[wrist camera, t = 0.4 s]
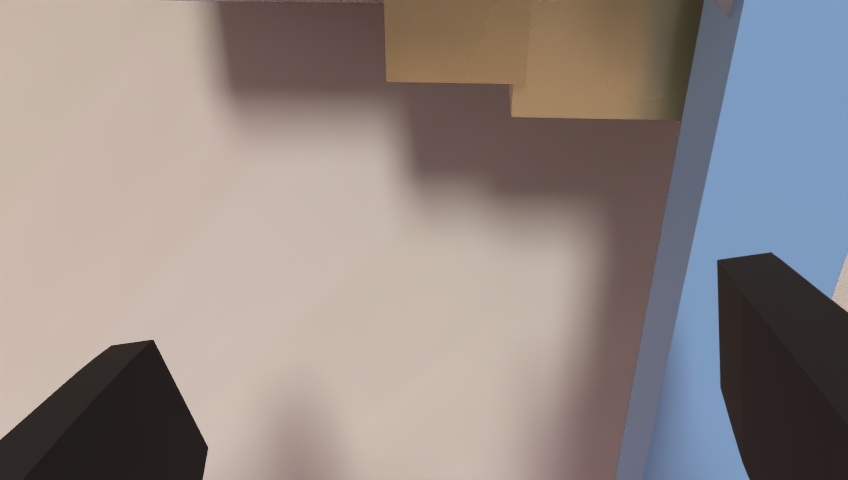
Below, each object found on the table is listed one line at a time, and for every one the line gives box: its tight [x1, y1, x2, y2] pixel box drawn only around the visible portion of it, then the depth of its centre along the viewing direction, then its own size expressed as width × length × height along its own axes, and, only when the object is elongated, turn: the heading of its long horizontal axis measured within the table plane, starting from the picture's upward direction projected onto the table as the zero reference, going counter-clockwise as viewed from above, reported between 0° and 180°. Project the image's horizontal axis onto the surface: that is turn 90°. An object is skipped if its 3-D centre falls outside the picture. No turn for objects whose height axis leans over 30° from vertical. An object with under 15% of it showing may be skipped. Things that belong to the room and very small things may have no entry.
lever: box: [615, 0, 848, 480], centre depth 14 cm, size 3×14×2 cm, turn 0°
